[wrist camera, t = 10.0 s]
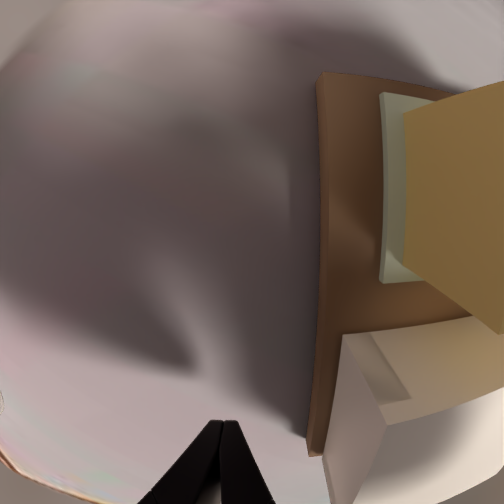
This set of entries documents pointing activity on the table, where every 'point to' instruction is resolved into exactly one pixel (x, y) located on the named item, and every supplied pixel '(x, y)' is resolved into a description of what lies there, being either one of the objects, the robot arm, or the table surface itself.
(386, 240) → the thin mint green panel
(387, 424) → the cover
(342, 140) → the board
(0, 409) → the coffee cup
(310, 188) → the table surface
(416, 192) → the block
